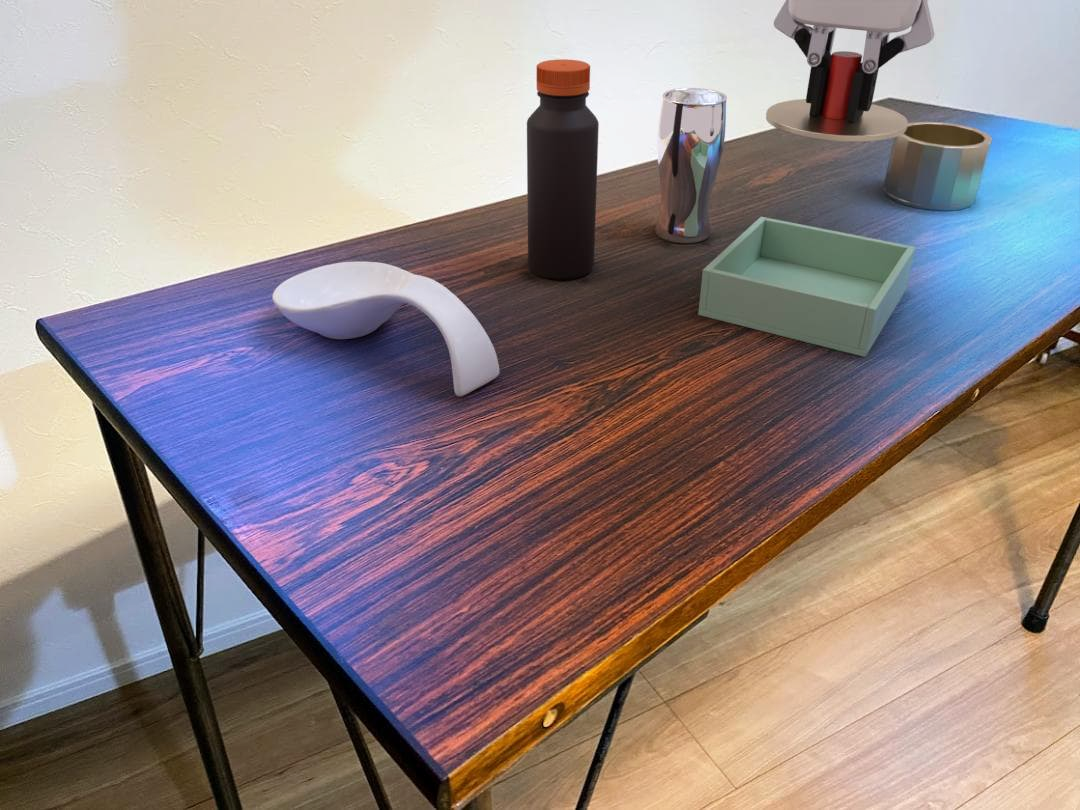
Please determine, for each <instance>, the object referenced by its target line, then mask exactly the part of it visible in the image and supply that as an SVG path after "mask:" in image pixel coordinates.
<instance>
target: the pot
mask: <svg viewBox="0 0 1080 810" xmlns="http://www.w3.org/2000/svg"><path fill="white" fill-rule="evenodd" d="M892 139H893V140H892V145H891V150H890V154H889V158H888V163H887V168H886V172H885V178H884V183H883V194H884V195H885V196H886V197H887V198H888V199H890V200H892V201H894V202H896V203H899V204H901V205H903V206H907V207H910V208H915V209H922V210H926V211H927V210H928V211H929V210H930V211H941V212H943V211H945V212H947V211H948V212H949V211H958V210H965V209H967V208H970V207H972V206H973V205H974V204H975V203H976V200H977V198H978V194H979V191H980V188H981V183H982V179H983V176H984V174H985V173H984V172H985V168H986V165H987V161H988V159H989V158H988V157H989V154H990V150H991V146H992V143H993V138H992V136H991V135H990V134H989V133H987V132H985V131H982V130H980V129H978V128H975V127H971V126H967V125H963V124H957V123H949V122H941V121H917V122H915V121H914V122H908V126H907V129H906V131H905V132H904V133H903V134H901V135H899V136H897V137H894V138H892Z"/></svg>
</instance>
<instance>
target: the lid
mask: <svg viewBox="0 0 1080 810" xmlns="http://www.w3.org/2000/svg"><path fill="white" fill-rule="evenodd" d="M831 55H832V56H831V62H830V68H829V74H828V80H827V86H826V92H825V98H824V104H823V109H822V114H820V115H819V116H817V117H811V116H810V115H809V113H810V107H811V103H806V98H800V99H791V100H786V101H780V102H777V103H774V104H773V105H771V106H770V107H768V108H767V110H766V113H765V119H766V122H767V123H768V124H769V125H771V126H772V127H774V128H776V129H778V130H780V131H783V132H785V133H788V134H791V135H796V136H799V137H804V138H808V139H812V140H817V141H824V142H831V143H863V142H864V143H865V142H877V141H885V140H890V139H894V137H897V136H899V135H901V134H903V133H904V132H905V131H906V129H907V126H908V123H909V122H908V119H907V118H906V116H904V115H902V114H901V113H899V112H898V111H896V110H893V109H891V108H889V107H888V108H887V107H885V106H884V107H883V106H881V105H877V104H874V103H872V105H871V108H870V110H869V111H864V112H863V115H862V116H861V117H860V118H859V119H858V120H857V121H856V122H854V123H853V122H848V120H846V114H847V109H848V103H849V98H850V92H851V87H852V81H853V76H854V74H855V73H856V72H857V71H859V67H860V64H861V63H862V61H863V55H862V54H861V53H860V52H859V53H858V52H855V51H848V50H847V51H845V50H844V51H843V50H839V51H834V52H831Z"/></svg>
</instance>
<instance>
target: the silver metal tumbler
mask: <svg viewBox="0 0 1080 810" xmlns="http://www.w3.org/2000/svg"><path fill="white" fill-rule="evenodd" d="M727 99H728V96H727V95H726V94H725V93H724V92H721V91H718V90H714V89H709V88H702V87H681V88H680V87H679V88H673V89H669V90H666V91H664V92H663V93H662V101H661V107H660V112H659V120H658V128H657V129H658V130H657V147H656V151H657V165H658V175H659V183H660V184H659V185H660V206H659V207H660V208H659V212H658V216H657V220H656V224H655V228H654V231H655V234H656V236H657V237H658V238H660V240H661V239H662V240H664V241H666V242H669V243H675V244H697V243H701V242H704V241H705V240H707V239H708V238H709V237H710V235H711V224H710V223H711V222H710V203H711V197H712V193H713V190H714V189H713V188H714V185H715V182H716V178H717V175H718V172H719V169H720V165H721V160H722V157H723V151H724V146H725V145H724V144H725V140H726V139H725V138H726V126H727V125H726V124H727Z"/></svg>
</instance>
